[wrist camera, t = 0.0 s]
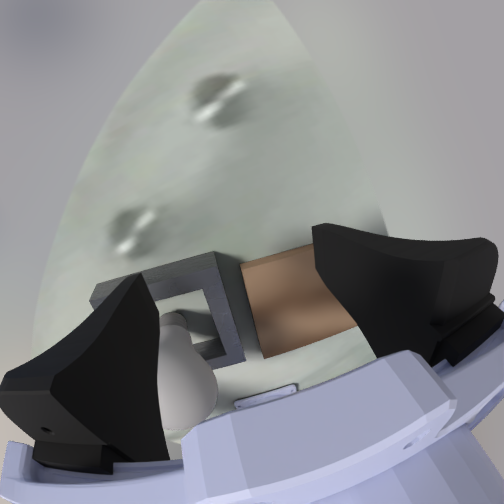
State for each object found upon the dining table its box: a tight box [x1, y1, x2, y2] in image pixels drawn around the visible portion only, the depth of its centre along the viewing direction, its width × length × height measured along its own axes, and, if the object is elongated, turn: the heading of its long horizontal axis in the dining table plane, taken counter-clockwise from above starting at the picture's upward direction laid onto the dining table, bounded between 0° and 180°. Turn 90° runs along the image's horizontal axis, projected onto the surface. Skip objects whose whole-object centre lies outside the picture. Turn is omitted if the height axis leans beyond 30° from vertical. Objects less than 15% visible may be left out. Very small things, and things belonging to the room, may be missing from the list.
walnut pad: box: [240, 244, 358, 359], centre depth 25 cm, size 11×11×1 cm
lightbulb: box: [157, 312, 218, 430], centre depth 18 cm, size 6×6×11 cm
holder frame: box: [89, 251, 246, 370], centre depth 22 cm, size 10×10×2 cm
